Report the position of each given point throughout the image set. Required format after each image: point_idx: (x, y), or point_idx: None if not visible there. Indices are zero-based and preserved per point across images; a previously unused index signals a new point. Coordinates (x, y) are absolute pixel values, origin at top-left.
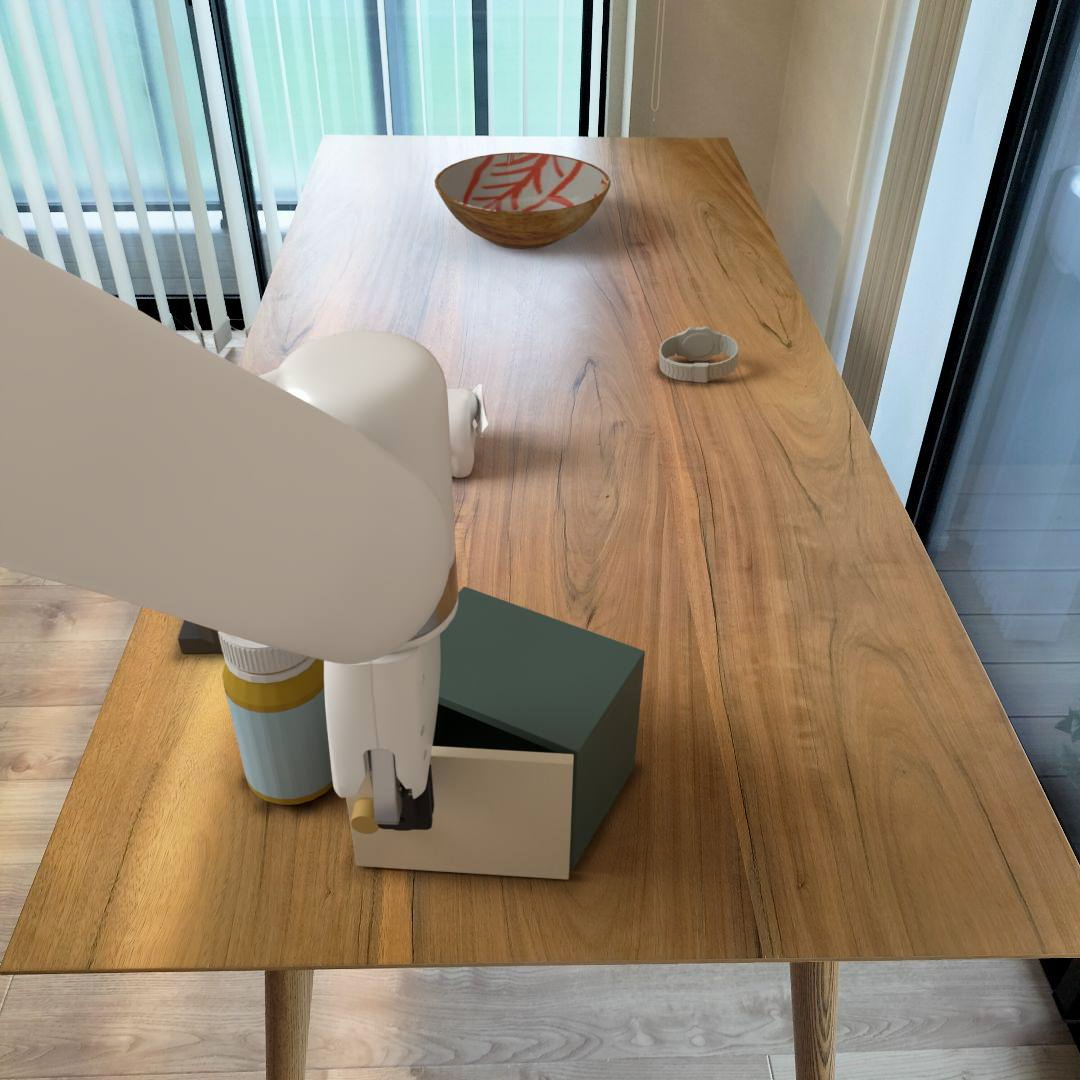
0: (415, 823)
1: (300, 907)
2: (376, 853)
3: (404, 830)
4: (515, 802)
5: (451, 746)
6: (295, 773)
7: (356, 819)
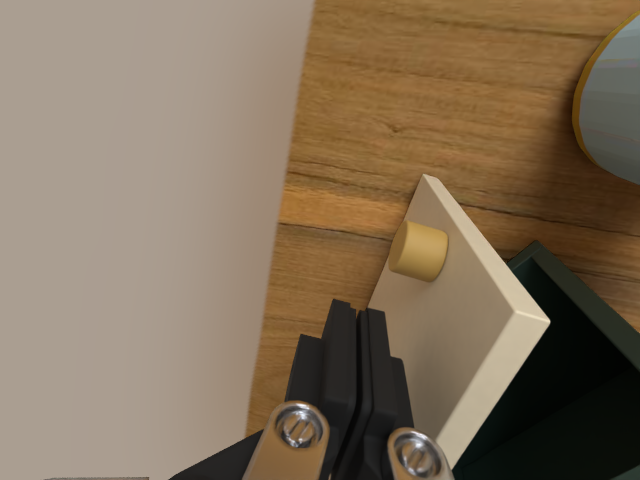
0: (288, 382)
1: (381, 86)
2: (415, 212)
3: (296, 349)
4: None
5: (575, 323)
6: (620, 105)
7: (404, 239)
